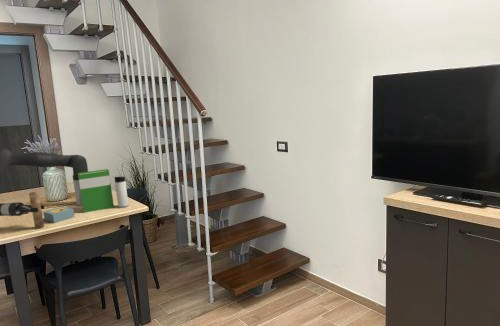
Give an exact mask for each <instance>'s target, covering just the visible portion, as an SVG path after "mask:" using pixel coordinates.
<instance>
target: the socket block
mask: <svg viewBox="0 0 500 326" xmlns="http://www.w3.org/2000/svg"><path fill="white" fill-rule="evenodd" d="M42 214H43V220H44V221H47V222H49V221H50V223H52V222H53V224H56V223H59V222H63V221H65V220H69V219H72V218H75V211H74V208H72V207H68V206H64V205H63V206H60V207H56V208H51V209H49V210H45V211H43V212H42Z"/></svg>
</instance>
